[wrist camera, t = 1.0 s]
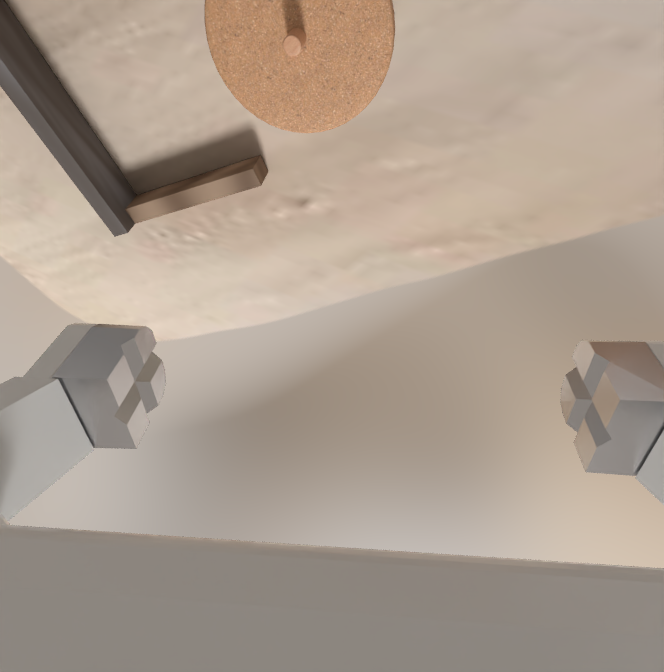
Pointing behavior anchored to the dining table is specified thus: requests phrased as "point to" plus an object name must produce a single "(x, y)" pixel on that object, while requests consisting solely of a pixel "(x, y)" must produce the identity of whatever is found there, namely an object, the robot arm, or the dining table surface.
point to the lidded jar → (302, 57)
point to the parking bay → (87, 151)
